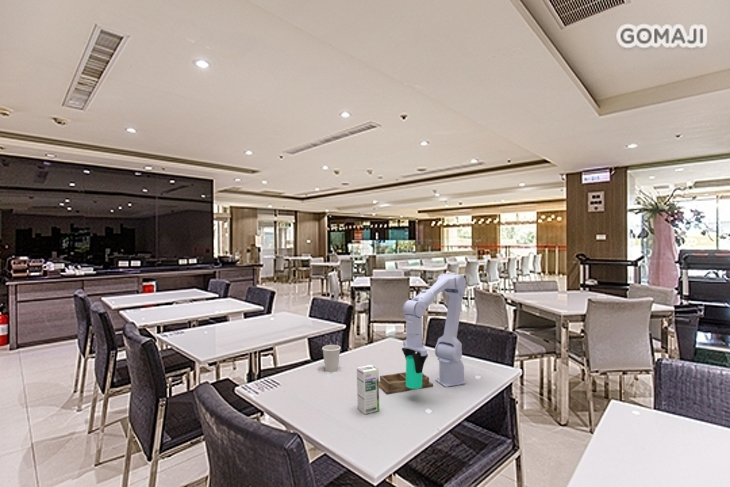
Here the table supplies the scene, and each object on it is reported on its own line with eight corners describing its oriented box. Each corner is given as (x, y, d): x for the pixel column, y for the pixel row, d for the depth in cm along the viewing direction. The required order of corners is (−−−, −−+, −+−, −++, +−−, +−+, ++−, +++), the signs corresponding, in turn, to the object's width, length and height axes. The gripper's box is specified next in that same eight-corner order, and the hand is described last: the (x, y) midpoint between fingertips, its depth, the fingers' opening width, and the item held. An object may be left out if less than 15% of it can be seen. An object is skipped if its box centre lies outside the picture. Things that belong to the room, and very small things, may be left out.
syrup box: (364, 415, 123) (364, 371, 123) (356, 407, 129) (356, 366, 129) (379, 411, 126) (379, 368, 126) (371, 404, 131) (370, 363, 131)
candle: (421, 389, 132) (421, 355, 133) (404, 387, 134) (405, 354, 134) (422, 384, 138) (423, 351, 138) (406, 382, 139) (407, 350, 140)
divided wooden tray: (420, 377, 156) (419, 369, 156) (432, 386, 147) (432, 377, 147) (376, 384, 149) (376, 375, 149) (386, 394, 140) (386, 385, 139)
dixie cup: (344, 368, 168) (344, 346, 168) (333, 374, 161) (333, 351, 161) (330, 365, 173) (329, 343, 173) (318, 370, 166) (318, 348, 166)
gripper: (395, 329, 141) (396, 365, 142) (414, 339, 128) (414, 378, 128) (412, 327, 144) (412, 362, 144) (431, 336, 130) (432, 375, 131)
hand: (414, 369), depth 136 cm, fingers closed on candle, 6 cm apart
